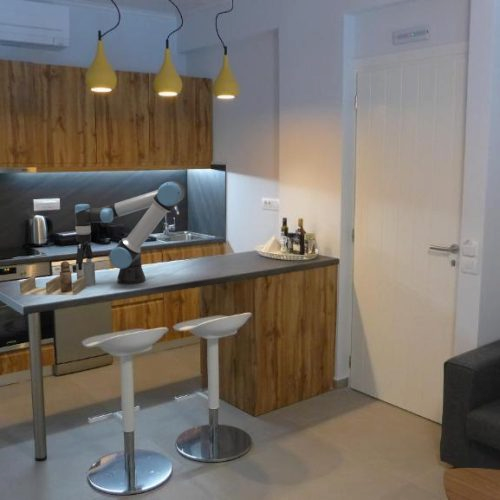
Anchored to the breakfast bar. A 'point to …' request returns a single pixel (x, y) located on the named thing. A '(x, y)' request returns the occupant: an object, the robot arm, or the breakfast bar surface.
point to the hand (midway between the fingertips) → (85, 273)
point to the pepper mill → (65, 277)
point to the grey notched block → (88, 273)
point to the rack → (50, 287)
